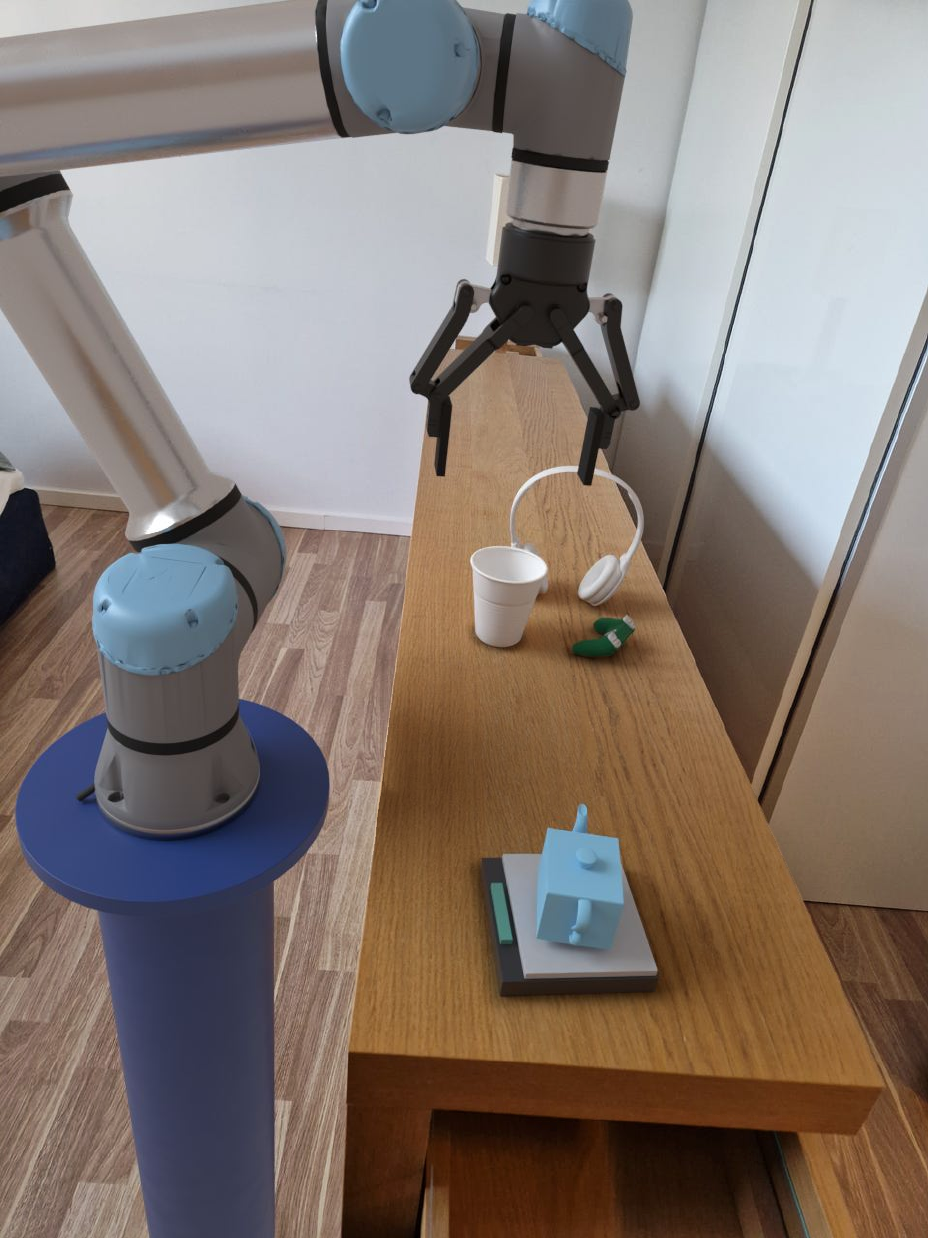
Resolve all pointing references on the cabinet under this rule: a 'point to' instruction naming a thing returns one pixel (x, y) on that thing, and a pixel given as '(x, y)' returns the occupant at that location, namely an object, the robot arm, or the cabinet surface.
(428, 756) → the cabinet surface
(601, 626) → the green christmas socks
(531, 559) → the cup
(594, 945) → the teapot
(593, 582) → the headphones
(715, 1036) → the cabinet surface
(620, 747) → the cabinet surface
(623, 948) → the scale
